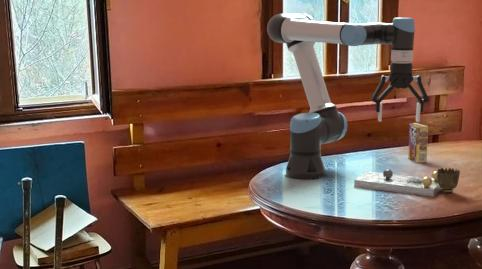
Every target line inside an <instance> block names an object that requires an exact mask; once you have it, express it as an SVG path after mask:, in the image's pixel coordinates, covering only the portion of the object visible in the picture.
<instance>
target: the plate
mask: <svg viewBox="0 0 482 269" xmlns="http://www.w3.org/2000/svg"><path fill="white" fill-rule="evenodd" d="M423 178H424V177H421V176H414V175H413V176H412V175H404V174H394V173H393V176H392V177H391V178H390V179H386V178H385V177H384V176H383V172H377V171H365V173H363V174H361V175H360V176H358V177H356V178H355V179H354V182H353V186H354V187H355V188H362V189H363V188H364V189H369V190H370V189H371V190H379V191H386V192H395V193H402V194H409V195H418V196H427V197H433V198H434V196H436V195H437V194H438V193H439V192H440V191H442V189H443V188H441V187H440V186H439V184H438V181H434V180H433V179H432V177H431V178H430V177H429V178H430V179H431V180H432V184H431V185H430V186H429V187H425V186H423V185H422V179H423Z"/></svg>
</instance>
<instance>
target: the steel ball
mask: <svg viewBox="0 0 482 269" xmlns="http://www.w3.org/2000/svg"><path fill="white" fill-rule="evenodd" d="M382 173H383V176H384V177H385V178H386V179H390V178H391V177H392V176H393V174H394V173H393V171H392V170H391V169H384V170H383V172H382Z"/></svg>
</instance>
